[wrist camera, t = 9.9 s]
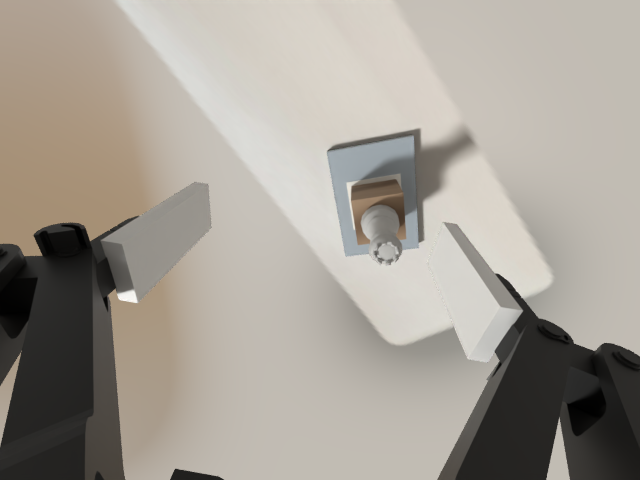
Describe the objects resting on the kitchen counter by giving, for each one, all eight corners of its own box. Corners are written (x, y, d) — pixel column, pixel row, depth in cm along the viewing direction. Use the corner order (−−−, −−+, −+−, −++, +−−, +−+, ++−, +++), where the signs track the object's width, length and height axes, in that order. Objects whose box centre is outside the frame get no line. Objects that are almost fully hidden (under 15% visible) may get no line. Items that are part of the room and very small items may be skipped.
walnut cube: (351, 186, 38) (350, 200, 32) (396, 178, 36) (403, 192, 31) (357, 225, 40) (357, 245, 35) (399, 220, 39) (406, 239, 34)
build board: (327, 150, 37) (326, 152, 36) (411, 134, 35) (414, 136, 34) (345, 252, 44) (345, 256, 43) (417, 244, 42) (418, 248, 41)
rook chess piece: (406, 220, 33) (421, 254, 26) (378, 243, 34) (385, 281, 27) (380, 195, 32) (387, 223, 25) (353, 221, 33) (352, 254, 26)
